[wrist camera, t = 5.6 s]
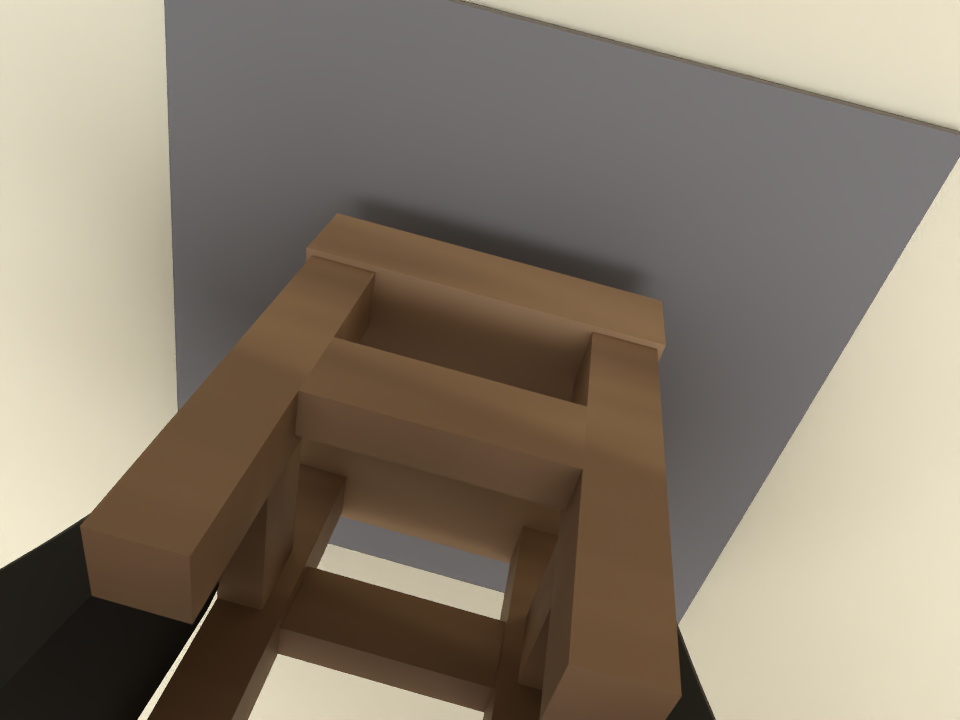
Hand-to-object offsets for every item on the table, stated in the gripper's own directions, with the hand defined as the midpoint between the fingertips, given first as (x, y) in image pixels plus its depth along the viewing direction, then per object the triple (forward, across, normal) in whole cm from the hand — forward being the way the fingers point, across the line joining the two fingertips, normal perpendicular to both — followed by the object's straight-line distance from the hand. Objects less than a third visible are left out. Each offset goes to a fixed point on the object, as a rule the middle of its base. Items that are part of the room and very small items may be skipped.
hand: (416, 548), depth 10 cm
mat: (+5, 0, 0) cm, 5 cm away
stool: (+4, 0, 0) cm, 4 cm away
